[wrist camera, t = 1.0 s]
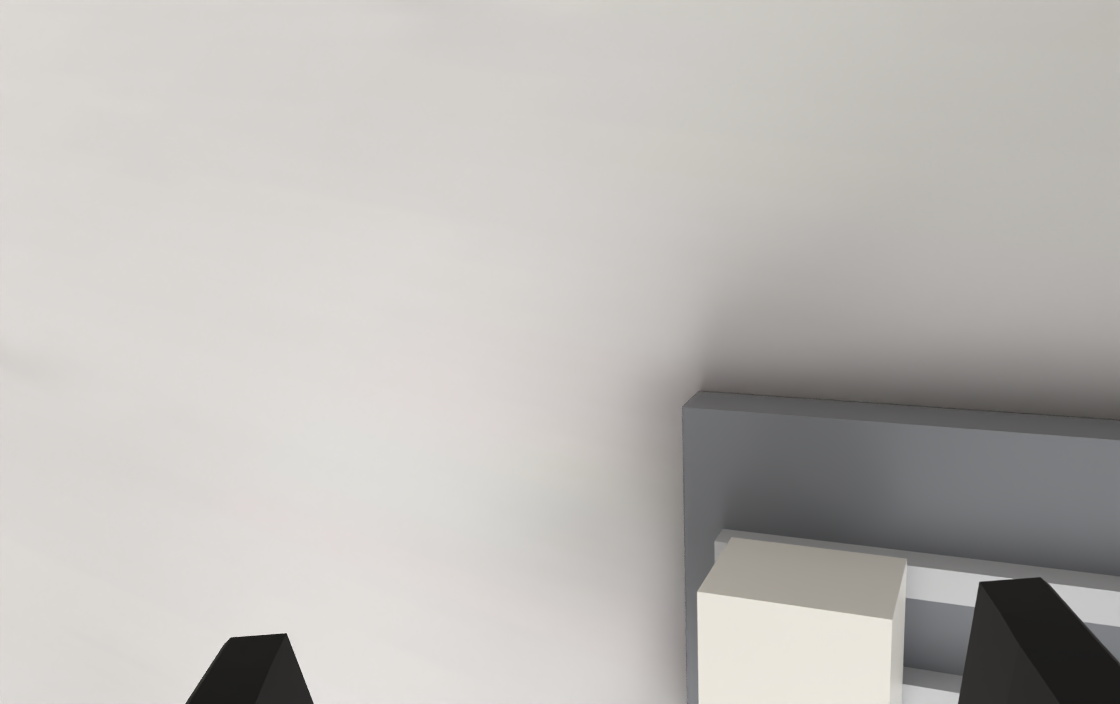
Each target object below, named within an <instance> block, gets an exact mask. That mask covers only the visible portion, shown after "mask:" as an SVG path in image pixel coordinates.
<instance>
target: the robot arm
mask: <svg viewBox="0 0 1120 704" xmlns="http://www.w3.org/2000/svg"><path fill="white" fill-rule="evenodd" d="M186 704H314V703H313V701H312V698H311V696H310V693H309V690H308V688H307V685H306V683H305V680H304V677H303V675H302V672H301V670H300V667H299V664H298V662H297V659H296V657H295V654H294V651H293V649H292V646H291V644H290V641H289V638H288V636H287V633H285V634H271V635H258V636H245V637H231V638H230V639H229V640H228V641H227V642H226V643H225V644H224V645H223V647H222V648H221V650H220V651H219V653H218V654H217V656H216V657H215V659H214V661H213V662H212V664H211V665H210V667H209V668H208V670H207V671H206V673H205V674H204V676H203V677H202V679H201V681H200V682H199V684H198V685H197V687H196V688H195V690H194V691H193V693H192V694H191V696H190V697H189V699H188V701H187V702H186ZM958 704H1120V662H1119V661H1118V660H1117V659H1116V658H1115V657H1114V656H1113V655H1112V654H1111V653H1110V651H1109V650H1108V649H1107V648H1106V647H1105V646H1104V645H1103V644H1102V643H1101V642H1100V640H1099V639H1098V638H1097V637H1096V636H1095V635H1094V634H1093V633H1092V632H1091V630H1090V629H1089V628H1088V627H1087V626H1086V625H1085V624H1084V623H1083V622H1082V620H1081V619H1080V618H1079V617H1078V616H1077V615H1076V614H1075V613H1074V611H1073V610H1072V609H1071V608H1070V607H1069V606H1068V605H1067V604H1066V602H1065V601H1064V600H1063V599H1062V598H1061V597H1060V596H1059V595H1058V593H1057V592H1056V591H1055V590H1054V589H1053V588H1052V587H1051V585H1050V584H1048V583H1047V582H1046V581H1045V580H1044V579H1042V578H1041V577H1034V578H1021V579H1008V580H994V581H981V582H979V586H978V592H977V598H976V603H975V609H974V615H973V620H972V626H971V632H970V638H969V643H968V649H967V655H966V660H965V666H964V672H963V678H962V683H961V689H960V695H959V700H958Z"/></svg>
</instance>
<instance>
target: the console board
mask: <svg viewBox="0 0 1120 704" xmlns="http://www.w3.org/2000/svg"><path fill="white" fill-rule="evenodd" d="M682 423H683V484H684V545H685V606H686V666H687V704H699V694H698V621H697V591H698V589H699V588H700V586H701V585H702V583H703V581H704V580H705V578H706V577H707V575H708V574H709V572H710V570H711V569H712V567H713V566H714V564H715V562H716V561H717V559H718V558H719V556H720V555H721V553H722V551H723V550H724V548H725V547H726V545H727V543H728V542H729V540H730V539H731V537H735V538H743V539H751V540H759V541H767V542H776V543H784V544H792V545H800V546H808V547H816V548H824V549H833V550H841V551H849V552H857V553H865V554H873V555H882V556H890V557H898V558H906V559H907V573H906V600H905V627H904V655H903V682H902V704H958V700H959V695H960V689H961V683H962V678H963V672H964V666H965V660H966V655H967V649H968V643H969V638H970V632H971V626H972V620H973V615H974V609H975V603H976V598H977V592H978V586H979V582H981V581H994V580H1008V579H1021V578H1034V577H1041V578H1042V579H1044V580H1045V581H1046V582H1047V583H1048V584H1050V585H1051V587H1052V588H1053V589H1054V590H1055V591H1056V592H1057V593H1058V595H1059V596H1060V597H1061V598H1062V599H1063V600H1064V601H1065V602H1066V604H1067V605H1068V606H1069V607H1070V608H1071V609H1072V610H1073V611H1074V613H1075V614H1076V615H1077V616H1078V617H1079V618H1080V619H1081V620H1082V622H1083V623H1084V624H1085V625H1086V626H1087V627H1088V628H1089V629H1090V630H1091V632H1092V633H1093V634H1094V635H1095V636H1096V637H1097V638H1098V639H1099V640H1100V642H1101V643H1102V644H1103V645H1104V646H1105V647H1106V648H1107V649H1108V650H1109V651H1110V653H1111V654H1112V655H1113V656H1114V657H1115V658H1116V659H1117V660H1118V661H1119V662H1120V420H1109V419H1095V418H1080V417H1066V416H1052V415H1037V414H1023V413H1008V412H994V411H979V410H965V409H951V408H936V407H922V406H907V405H893V404H878V403H864V402H850V401H835V400H821V399H806V398H792V397H777V396H763V395H749V394H734V393H720V392H705V391H698V392H697V393H696V394H695V395H694V396H693V397H692V398H691V399H690V400H689V401H688V402H687V403H686V404H685V405H684V406H683V407H682Z"/></svg>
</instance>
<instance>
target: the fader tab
mask: <svg viewBox="0 0 1120 704" xmlns="http://www.w3.org/2000/svg"><path fill="white" fill-rule="evenodd" d="M906 573H907V559H906V558H898V557H890V556H882V555H873V554H865V553H857V552H849V551H841V550H833V549H824V548H816V547H808V546H800V545H792V544H784V543H776V542H767V541H759V540H751V539H743V538H735V537H731V539H730V540H729V542H728V543H727V545H726V547H725V548H724V550H723V551H722V553H721V555H720V556H719V558H718V559H717V561H716V562H715V564H714V566H713V567H712V569H711V570H710V572H709V574H708V575H707V577H706V578H705V580H704V581H703V583H702V585H701V586H700V588H699V589H698V591H697V621H698V694H699V704H902V682H903V655H904V627H905V600H906Z"/></svg>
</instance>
